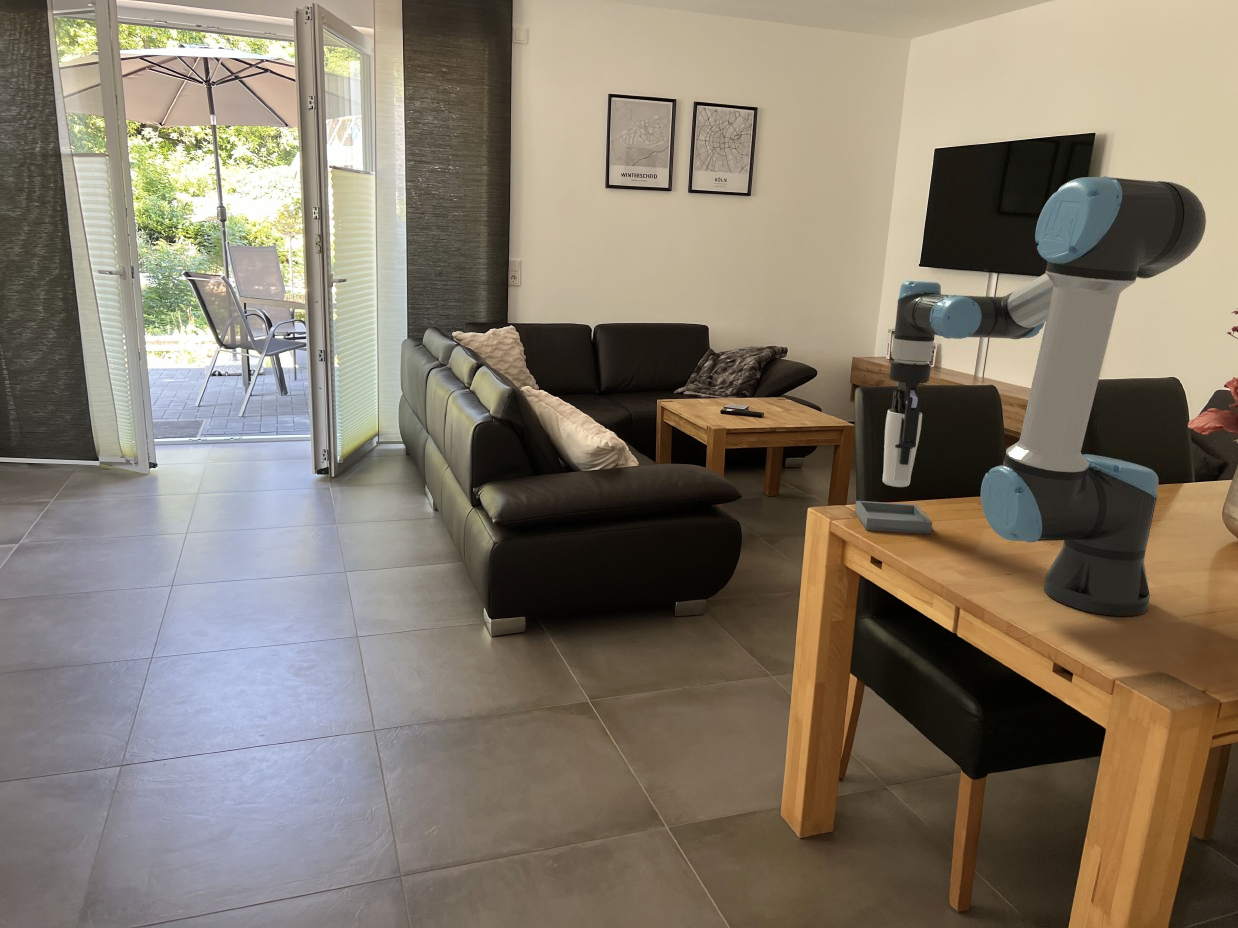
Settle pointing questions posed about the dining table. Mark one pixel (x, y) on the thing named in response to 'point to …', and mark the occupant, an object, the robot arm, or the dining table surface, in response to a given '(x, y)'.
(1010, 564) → the dining table surface
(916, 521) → the tray
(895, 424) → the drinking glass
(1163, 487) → the dining table surface
